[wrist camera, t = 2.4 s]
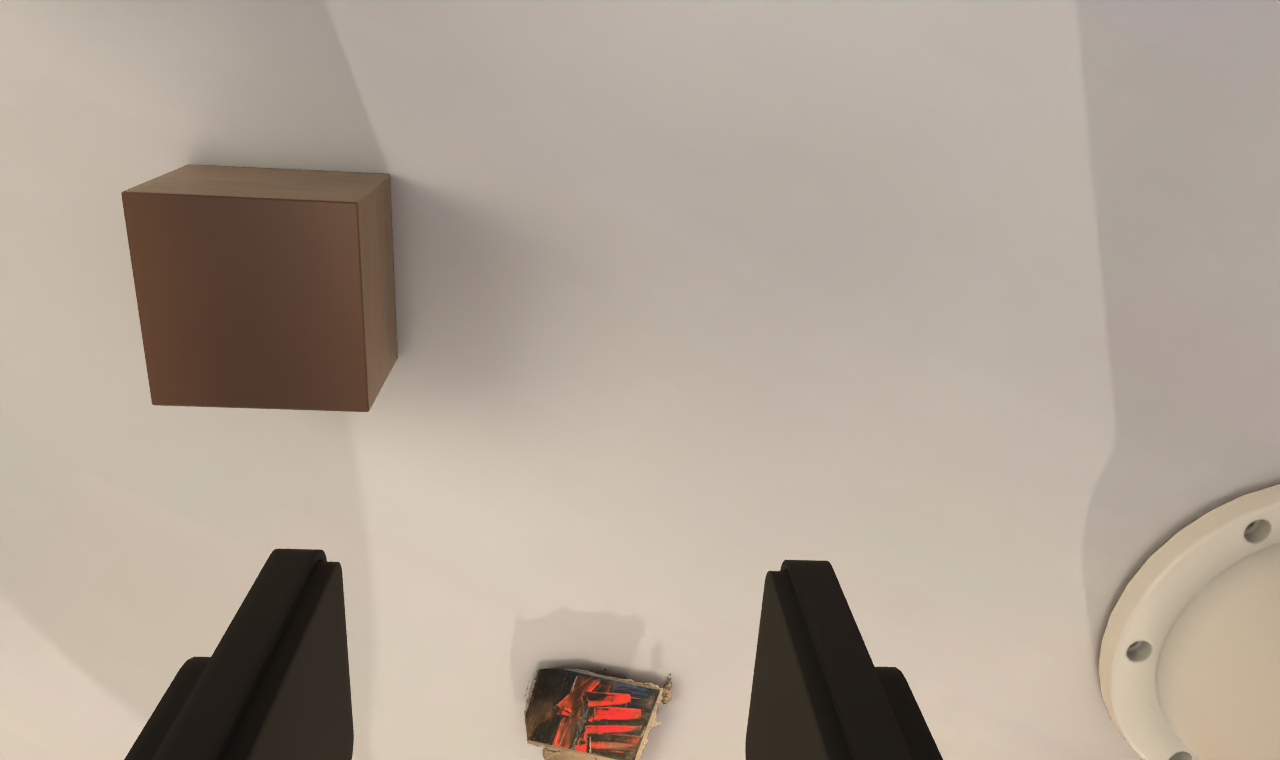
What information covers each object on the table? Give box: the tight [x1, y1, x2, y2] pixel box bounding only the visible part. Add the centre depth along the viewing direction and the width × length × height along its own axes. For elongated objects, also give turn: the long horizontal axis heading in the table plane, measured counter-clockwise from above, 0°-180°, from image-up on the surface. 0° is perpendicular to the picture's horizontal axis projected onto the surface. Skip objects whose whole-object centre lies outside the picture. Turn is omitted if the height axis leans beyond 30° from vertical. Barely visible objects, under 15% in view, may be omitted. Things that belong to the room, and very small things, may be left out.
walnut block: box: [122, 165, 398, 412], centre depth 25 cm, size 6×6×4 cm
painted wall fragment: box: [524, 667, 671, 760], centre depth 33 cm, size 5×5×1 cm
